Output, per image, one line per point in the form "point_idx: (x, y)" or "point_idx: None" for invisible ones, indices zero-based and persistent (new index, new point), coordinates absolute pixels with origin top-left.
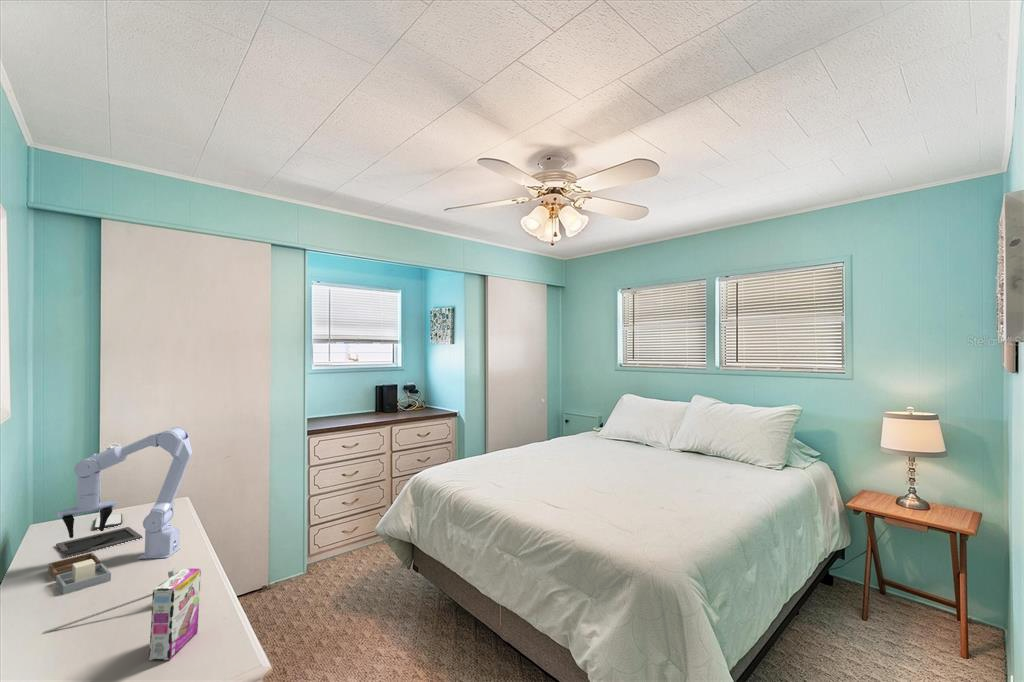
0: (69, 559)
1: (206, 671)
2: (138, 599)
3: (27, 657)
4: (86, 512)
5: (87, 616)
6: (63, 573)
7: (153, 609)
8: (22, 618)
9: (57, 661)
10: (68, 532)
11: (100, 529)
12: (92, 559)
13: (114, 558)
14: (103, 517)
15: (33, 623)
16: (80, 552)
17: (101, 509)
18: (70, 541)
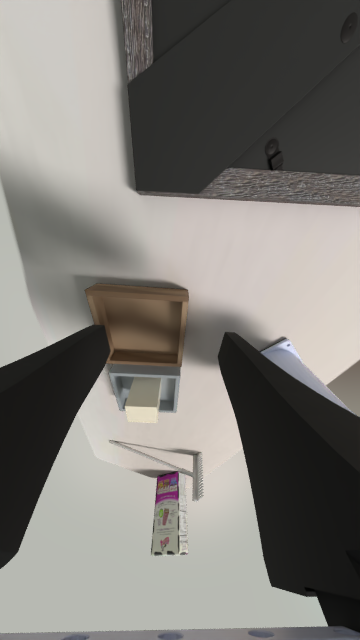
0: (133, 298)
1: None
2: (170, 466)
3: (103, 453)
4: (106, 631)
5: (136, 453)
6: (119, 373)
7: (153, 528)
8: (89, 416)
9: (119, 461)
10: (71, 337)
11: (221, 354)
12: (156, 410)
13: (219, 323)
14: (249, 466)
15: (100, 427)
16: (179, 194)
17: (325, 628)
18: None
